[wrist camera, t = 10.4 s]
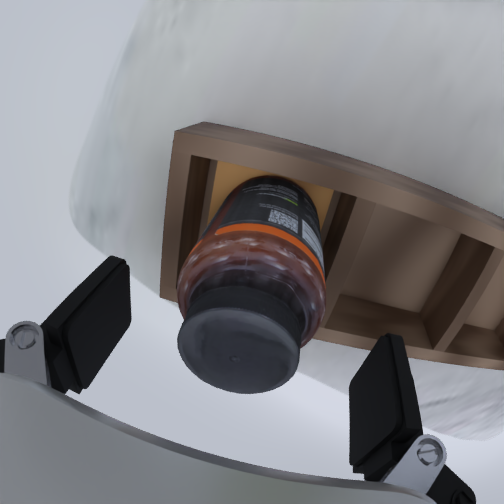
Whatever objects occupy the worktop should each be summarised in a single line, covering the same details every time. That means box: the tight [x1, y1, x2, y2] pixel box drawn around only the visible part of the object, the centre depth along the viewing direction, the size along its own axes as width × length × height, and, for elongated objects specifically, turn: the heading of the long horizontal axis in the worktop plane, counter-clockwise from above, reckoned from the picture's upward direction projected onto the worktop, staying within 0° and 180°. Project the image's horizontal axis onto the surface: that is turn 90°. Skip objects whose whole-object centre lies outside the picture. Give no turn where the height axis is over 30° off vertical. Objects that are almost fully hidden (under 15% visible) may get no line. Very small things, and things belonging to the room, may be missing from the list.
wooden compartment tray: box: [160, 122, 504, 370], centre depth 18 cm, size 28×10×5 cm, turn 78°
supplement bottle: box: [177, 175, 326, 394], centre depth 14 cm, size 6×6×11 cm
